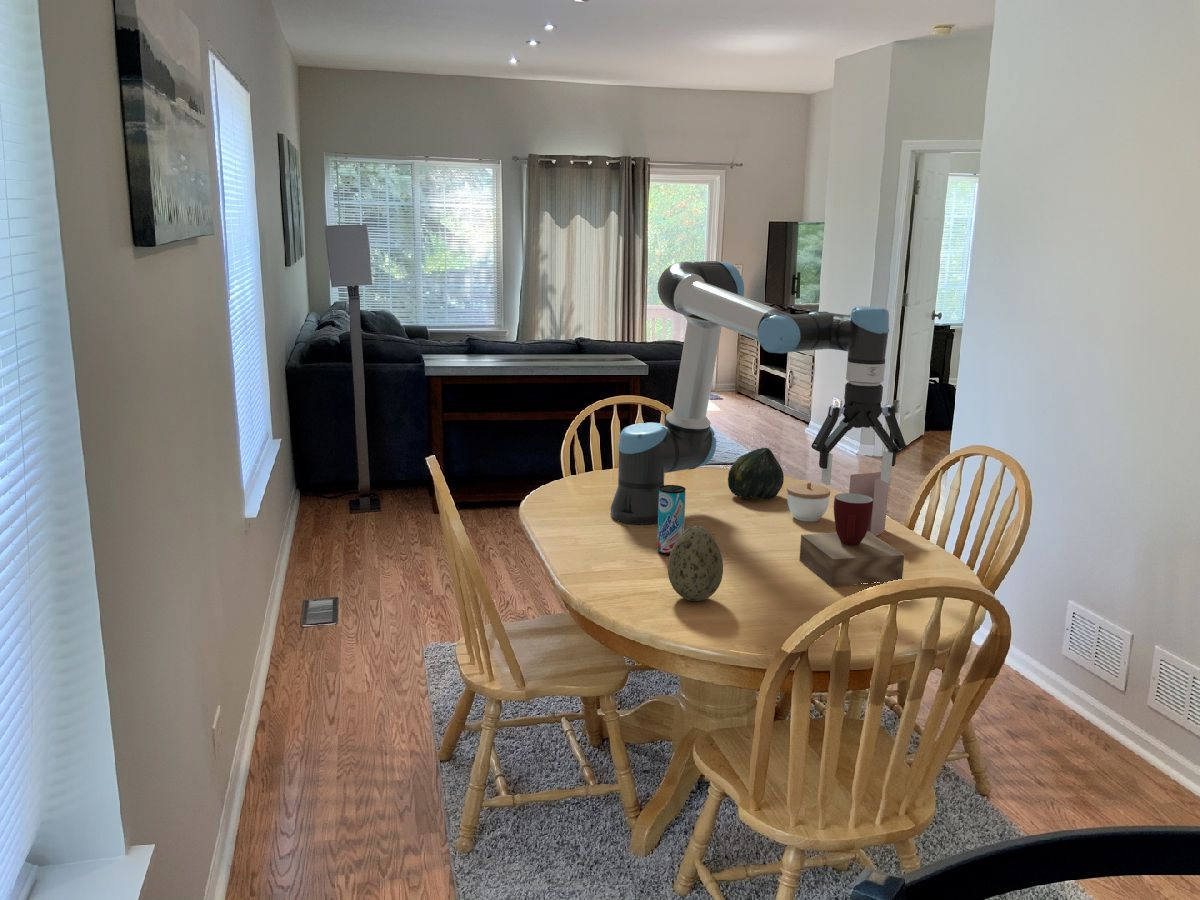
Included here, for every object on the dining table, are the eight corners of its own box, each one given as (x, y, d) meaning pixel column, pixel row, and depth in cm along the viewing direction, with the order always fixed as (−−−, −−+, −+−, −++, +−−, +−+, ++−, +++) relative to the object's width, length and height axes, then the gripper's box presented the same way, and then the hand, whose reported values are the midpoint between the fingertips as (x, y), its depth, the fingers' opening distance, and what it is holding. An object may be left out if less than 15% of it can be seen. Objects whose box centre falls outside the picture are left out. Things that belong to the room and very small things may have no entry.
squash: (713, 471, 262) (736, 440, 251) (758, 469, 268) (782, 438, 257) (731, 514, 254) (756, 483, 243) (776, 510, 261) (802, 480, 250)
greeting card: (882, 529, 231) (887, 470, 227) (901, 537, 224) (907, 477, 221) (843, 533, 227) (848, 473, 223) (862, 542, 220) (867, 481, 216)
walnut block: (830, 586, 192) (833, 559, 190) (799, 560, 207) (801, 534, 206) (901, 582, 195) (904, 555, 193) (865, 556, 210) (867, 531, 209)
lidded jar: (817, 527, 231) (820, 490, 229) (778, 518, 237) (780, 483, 235) (834, 517, 240) (837, 482, 237) (796, 509, 246) (798, 475, 244)
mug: (873, 553, 194) (877, 507, 192) (833, 551, 195) (836, 505, 193) (867, 538, 204) (871, 494, 202) (829, 535, 205) (832, 492, 203)
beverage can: (651, 551, 211) (653, 487, 208) (668, 546, 215) (671, 483, 212) (671, 558, 207) (673, 493, 204) (688, 552, 211) (691, 488, 208)
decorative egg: (701, 586, 191) (704, 515, 187) (732, 604, 182) (736, 530, 178) (656, 594, 186) (658, 522, 182) (686, 613, 177) (689, 538, 173)
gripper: (815, 386, 186) (807, 489, 190) (929, 384, 191) (918, 484, 195) (800, 380, 193) (793, 479, 198) (910, 379, 198) (900, 475, 203)
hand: (855, 482), depth 197 cm, fingers open, 13 cm apart
